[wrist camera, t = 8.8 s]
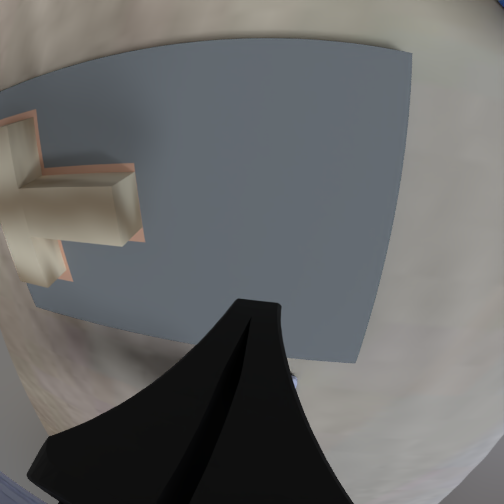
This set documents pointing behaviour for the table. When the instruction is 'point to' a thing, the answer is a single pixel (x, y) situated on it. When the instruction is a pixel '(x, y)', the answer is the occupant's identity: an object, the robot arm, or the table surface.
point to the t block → (58, 207)
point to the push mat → (231, 183)
